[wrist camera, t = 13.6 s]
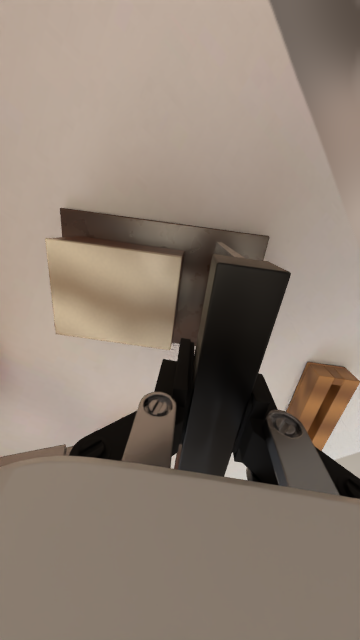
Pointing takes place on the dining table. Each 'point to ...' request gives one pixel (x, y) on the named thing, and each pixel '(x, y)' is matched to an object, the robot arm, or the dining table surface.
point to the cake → (134, 276)
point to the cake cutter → (228, 355)
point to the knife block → (322, 399)
